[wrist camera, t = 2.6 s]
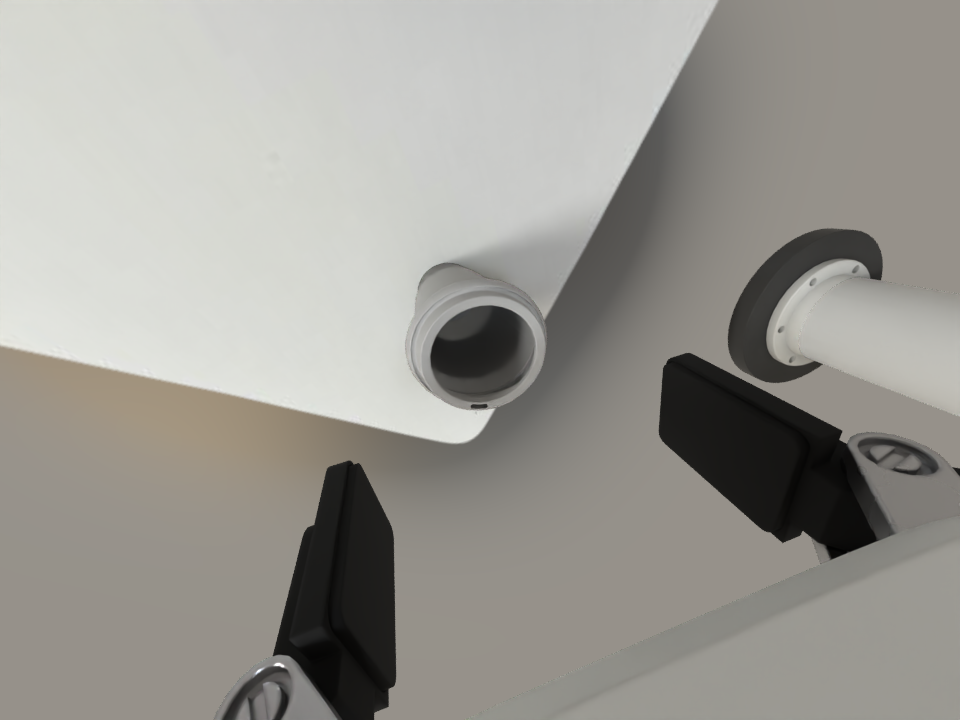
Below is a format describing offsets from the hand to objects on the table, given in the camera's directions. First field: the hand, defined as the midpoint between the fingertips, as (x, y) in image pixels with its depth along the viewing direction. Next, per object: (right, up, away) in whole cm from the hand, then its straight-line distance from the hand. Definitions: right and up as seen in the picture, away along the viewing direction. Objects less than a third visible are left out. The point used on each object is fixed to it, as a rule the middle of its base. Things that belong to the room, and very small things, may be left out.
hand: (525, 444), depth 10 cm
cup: (-4, +8, +16) cm, 18 cm away
